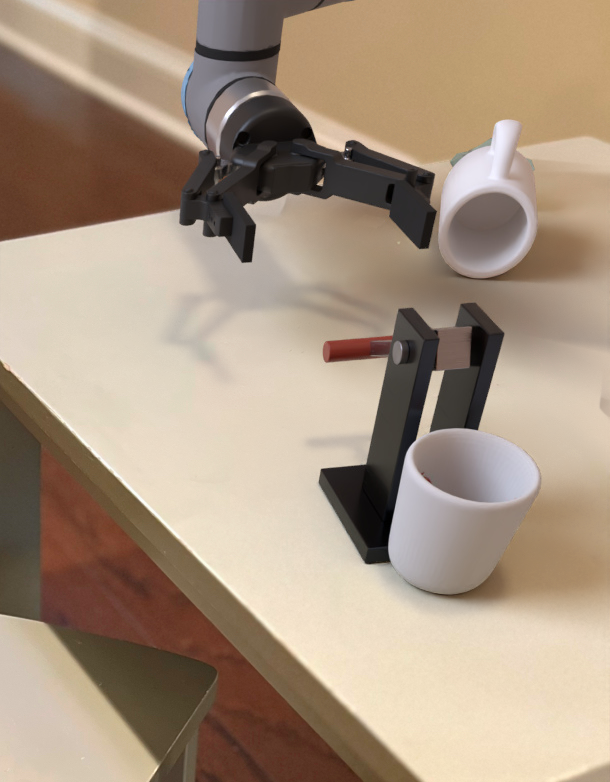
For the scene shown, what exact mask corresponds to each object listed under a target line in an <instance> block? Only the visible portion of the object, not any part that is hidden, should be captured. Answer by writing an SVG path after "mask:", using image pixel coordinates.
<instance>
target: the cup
mask: <svg viewBox="0 0 610 782" xmlns="http://www.w3.org/2000/svg"><path fill="white" fill-rule="evenodd" d="M541 487H542V473H541V470H540V468H539V466H538V465H537V463H536V461H535V460H534V459H533V457H532V456H531V455H530V454H528V452H527V451H526V450H524V449H523V448H522V447H520V446H519V445H517V444H515V443H514V442H512V441H510V440H508V439H506V438H504V437H501V436H499V435H496V434H494V433H492V432H491V433H490V432H486V431H483V430H479V429H478V430H472V429H460V428H453V429H442V430H437V431H433V432H430V433H429V432H428V433H425V434H422V436H420V437H417V438H416V441H415V442H414V443H413V444H412V445H411V446H410V448H409V449H408V451H407V454H406V457H405V461H404V466H403V471H402V476H401V481H400V486H399V491H398V496H397V501H396V506H395V511H394V516H393V520H392V525H391V530H390V536H389V545H388V550H389V557H390V561H389V562H390V563H391V565H392V567H393V569H394V571H395V572H396V573H397V574H398V575H399V576H400V577H401V578H402V579H403V580H404V581H406V582H407V583H409V584H410V585H412V586H414V587H415V588H418V589H420V590H423V591H426V592H429V593H434V594H440V595H457V594H463V593H467V592H469V591H472V590H474V589H476V588H478V586H481V585H482V584H483V583H484V582H485V581H486V580H487V579H488V578H489V577H490V575H491V574H492V573H493V572H494V570H495V568H496V566H497V565H498V563H499V561H500V560H501V558H502V557H503V555H504V553H505V551H506V550H507V548H508V546H509V544H511V542H512V540H513V538H514V536H515V534H516V533H517V531H518V529H519V527H520V526H521V524H522V522H523V521H524V519H525V517H526V515H527V513H528V512H529V510H530V508H531V507H532V505H533V504H534V502H535V500H536V498H537V497H538V495H539V493H540V490H541Z"/></svg>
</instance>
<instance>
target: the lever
mask: <svg viewBox="0 0 610 782" xmlns="http://www.w3.org/2000/svg"><path fill="white" fill-rule="evenodd" d="M431 329H432V330H433V331H434V332H435V334H436V335H437V336H438V337H439V338H440V341H439V345H438V349H437V354H436V358H435V362H434V366H433V370H432V372H442V371H443V372H444V370H455V369H466V368H470V359H471V340H472V327H471V326H466V327H455V326H444V327H433V328H431ZM392 337H393V334H392V335H383V336H369V337H358V338H347V339H334V340H326V341H325V342H323V346H322V359H323V361H324V363H325V364H329V363H339V362H353V361H365V360H374V359H375V360H376V359H388V356H389V351H390V346H391V341H392Z"/></svg>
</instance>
